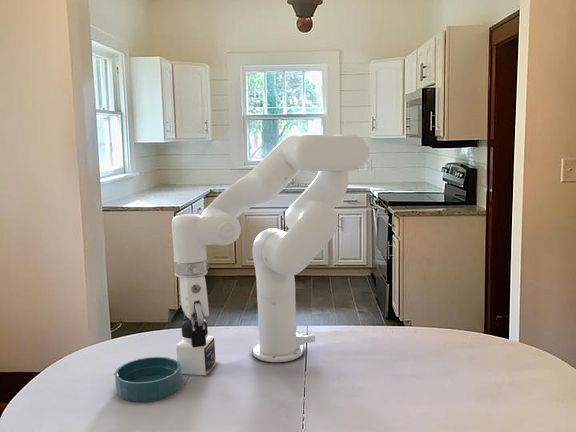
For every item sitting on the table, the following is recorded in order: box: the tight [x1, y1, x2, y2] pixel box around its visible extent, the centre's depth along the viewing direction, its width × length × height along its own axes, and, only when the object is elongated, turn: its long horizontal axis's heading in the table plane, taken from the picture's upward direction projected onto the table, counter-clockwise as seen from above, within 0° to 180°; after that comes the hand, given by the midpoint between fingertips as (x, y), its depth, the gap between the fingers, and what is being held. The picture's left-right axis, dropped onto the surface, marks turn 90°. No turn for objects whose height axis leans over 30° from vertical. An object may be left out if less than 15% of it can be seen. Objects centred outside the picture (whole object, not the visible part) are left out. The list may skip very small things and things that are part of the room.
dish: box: [114, 356, 183, 403], centre depth 134 cm, size 14×14×4 cm
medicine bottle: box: [175, 319, 217, 376], centre depth 143 cm, size 7×7×12 cm
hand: (195, 339), depth 142 cm, fingers closed on medicine bottle, 7 cm apart
